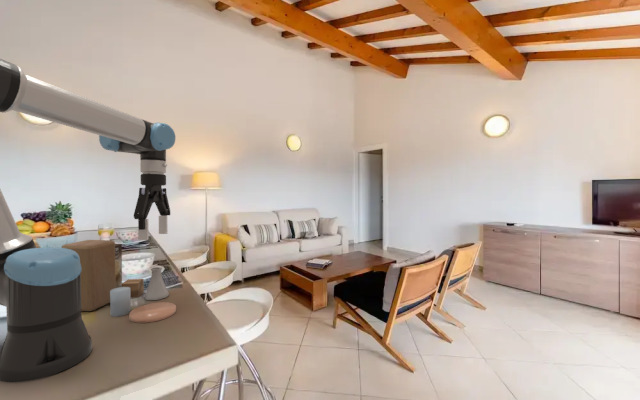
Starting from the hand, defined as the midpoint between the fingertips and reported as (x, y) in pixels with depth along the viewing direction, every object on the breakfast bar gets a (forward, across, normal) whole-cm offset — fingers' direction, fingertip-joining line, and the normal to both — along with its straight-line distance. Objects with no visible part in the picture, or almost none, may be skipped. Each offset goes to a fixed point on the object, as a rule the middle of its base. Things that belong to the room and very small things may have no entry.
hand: (153, 236), depth 102 cm
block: (+21, -7, +16) cm, 27 cm away
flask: (+21, 0, -1) cm, 21 cm away
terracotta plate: (+21, -14, -6) cm, 26 cm away
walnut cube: (+21, +2, +8) cm, 22 cm away
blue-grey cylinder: (+21, -13, +4) cm, 25 cm away
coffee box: (+21, +8, +21) cm, 31 cm away
